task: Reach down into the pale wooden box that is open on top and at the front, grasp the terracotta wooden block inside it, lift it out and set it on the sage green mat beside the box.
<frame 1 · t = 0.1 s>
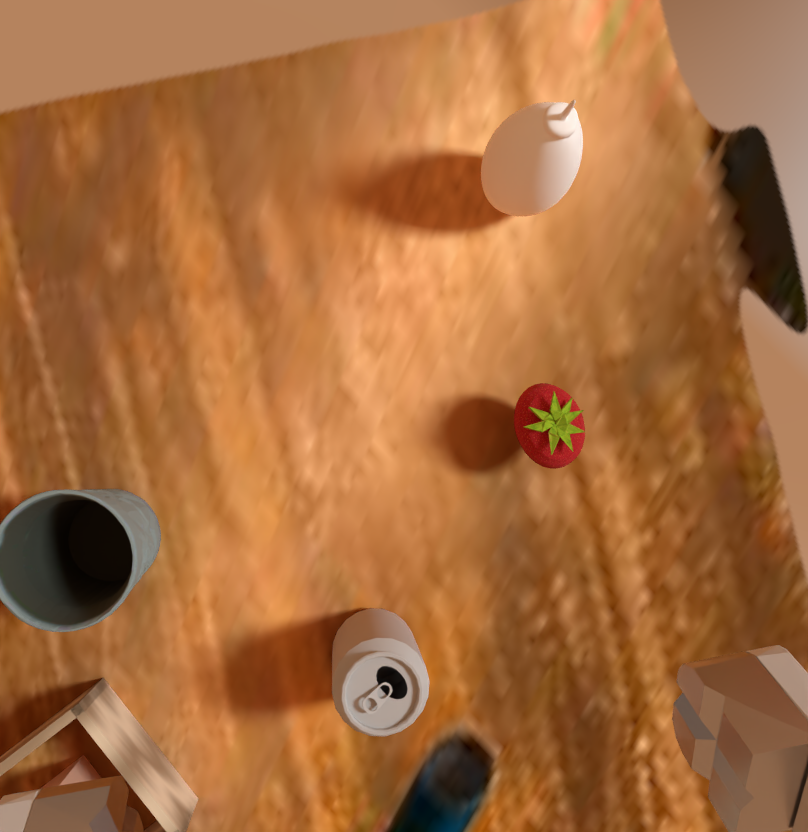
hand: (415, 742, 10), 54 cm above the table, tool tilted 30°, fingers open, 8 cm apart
grey cup: (115, 537, 62), on the table
block: (79, 793, 61), on the table
open box: (93, 783, 61), on the table
strawberry: (530, 427, 66), on the table
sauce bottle: (509, 191, 67), on the table
can: (373, 646, 64), on the table
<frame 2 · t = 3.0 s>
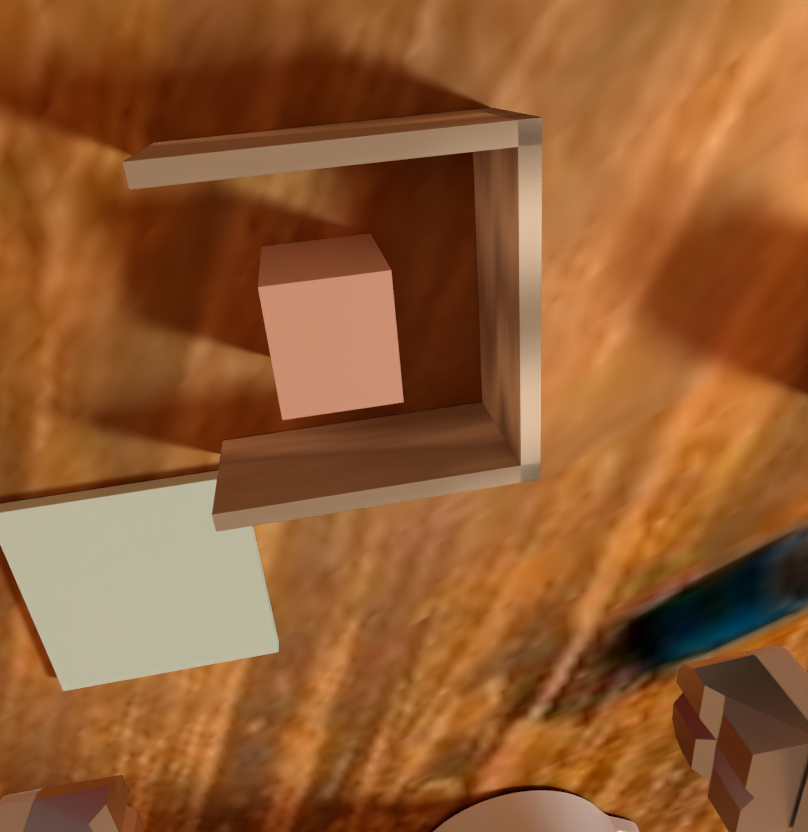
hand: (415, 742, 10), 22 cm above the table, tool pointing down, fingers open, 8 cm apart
block: (324, 298, 30), on the table
open box: (359, 294, 30), on the table
green mat: (148, 578, 35), on the table
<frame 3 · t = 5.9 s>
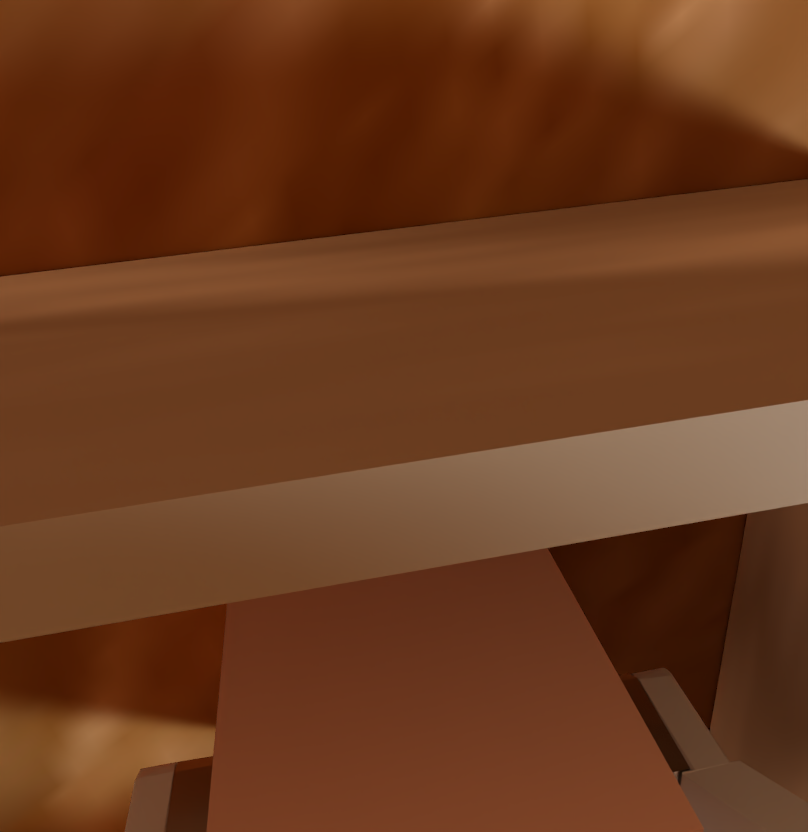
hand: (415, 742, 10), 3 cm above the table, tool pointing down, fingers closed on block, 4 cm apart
block: (388, 617, 13), on the table, touching gripper
open box: (471, 603, 13), on the table
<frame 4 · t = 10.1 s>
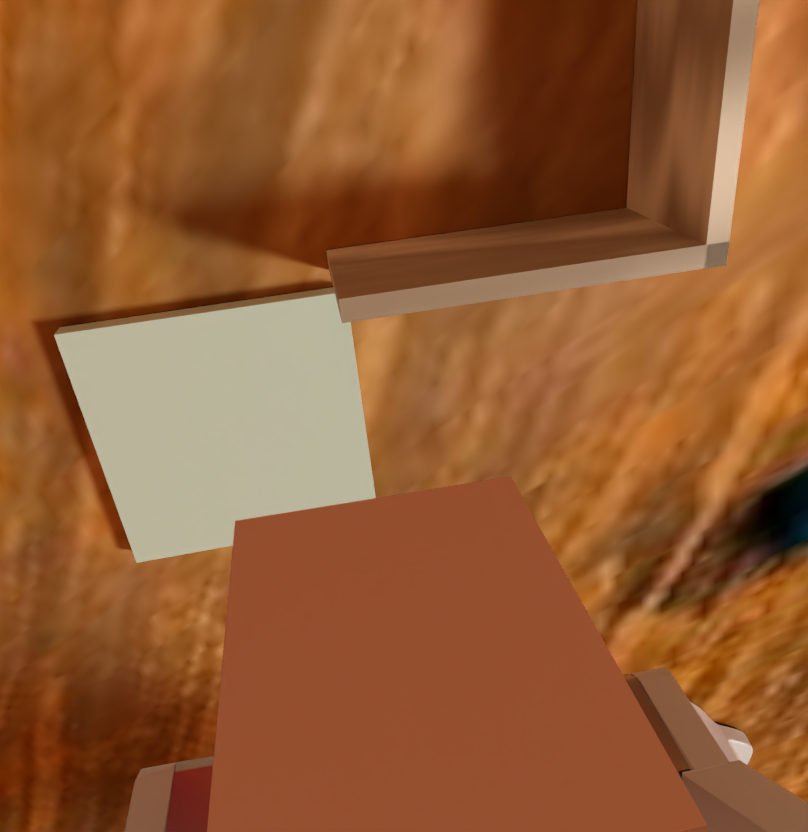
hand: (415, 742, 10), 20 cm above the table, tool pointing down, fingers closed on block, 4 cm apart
block: (390, 614, 12), point 18 cm above the table, touching gripper
open box: (496, 56, 25), on the table
green mat: (234, 427, 30), on the table
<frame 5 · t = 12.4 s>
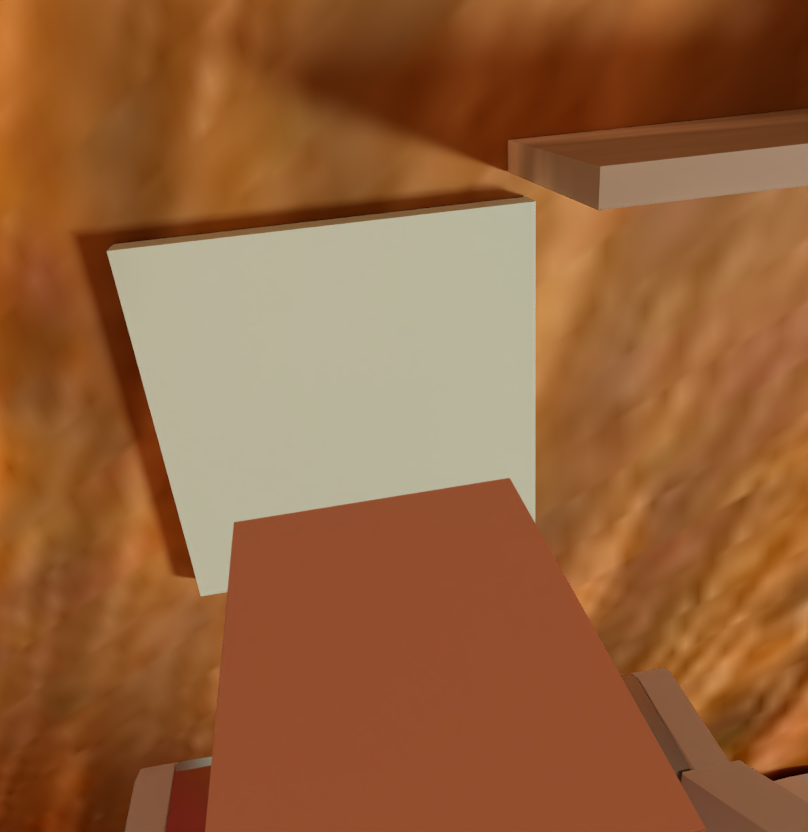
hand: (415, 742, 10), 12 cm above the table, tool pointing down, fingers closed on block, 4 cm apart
block: (389, 616, 12), point 10 cm above the table, touching gripper
green mat: (350, 405, 21), on the table
when the fingers open (5 cm above the table, at t = 14.5 s): block drops 2 cm, resting on green mat.
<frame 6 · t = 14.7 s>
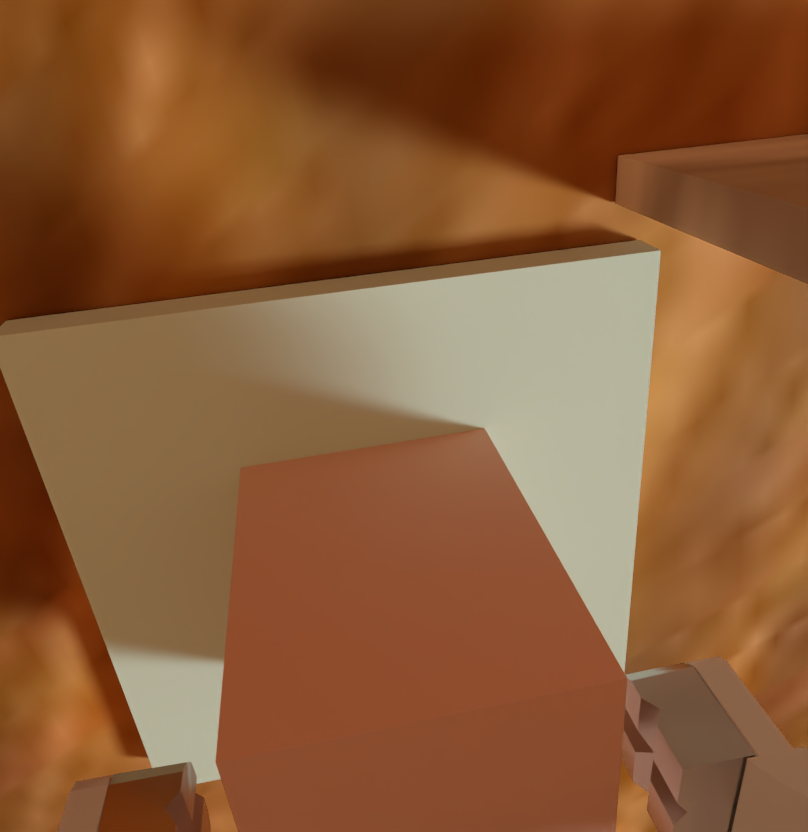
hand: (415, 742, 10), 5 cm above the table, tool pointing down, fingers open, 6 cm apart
block: (379, 555, 14), point 1 cm above the table, touching green mat
green mat: (371, 534, 15), on the table
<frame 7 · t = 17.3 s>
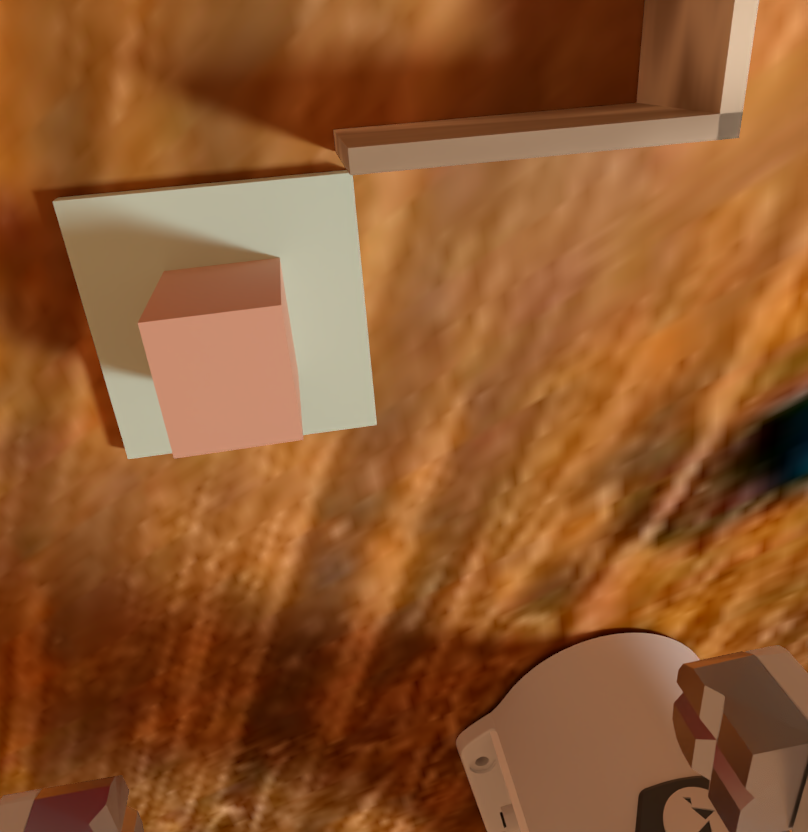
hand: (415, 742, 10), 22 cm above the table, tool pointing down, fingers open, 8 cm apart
block: (234, 324, 29), point 1 cm above the table, touching green mat
green mat: (233, 319, 29), on the table
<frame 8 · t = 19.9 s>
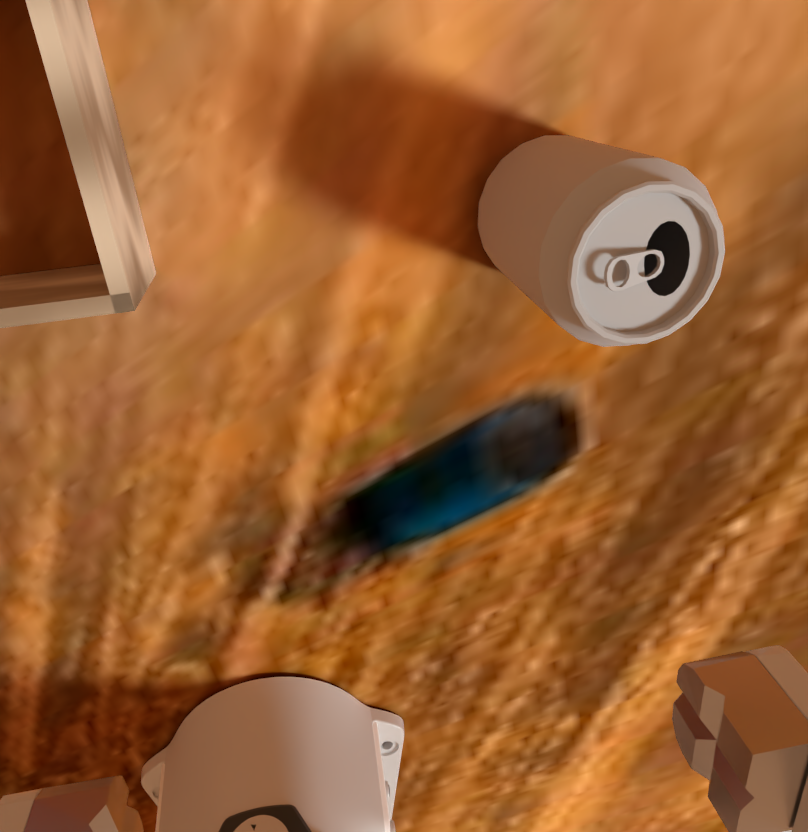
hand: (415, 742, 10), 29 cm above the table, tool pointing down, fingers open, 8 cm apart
can: (541, 208, 37), on the table
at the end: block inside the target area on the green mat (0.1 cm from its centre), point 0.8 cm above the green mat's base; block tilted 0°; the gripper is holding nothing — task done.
